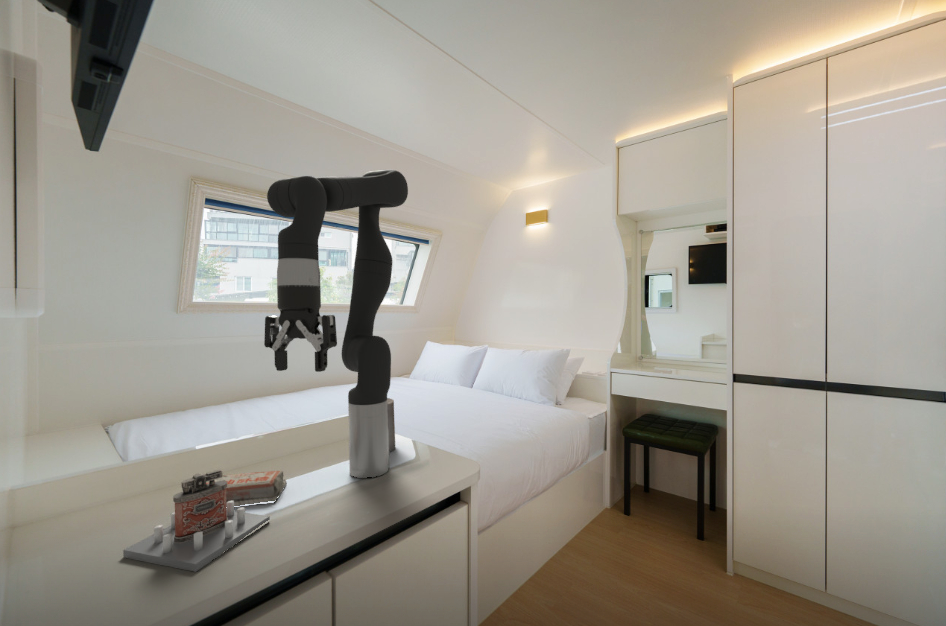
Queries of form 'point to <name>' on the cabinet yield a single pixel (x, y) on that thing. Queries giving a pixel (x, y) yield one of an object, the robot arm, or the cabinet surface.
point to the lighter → (200, 506)
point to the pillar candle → (391, 423)
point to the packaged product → (253, 487)
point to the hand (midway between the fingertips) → (300, 370)
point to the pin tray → (194, 542)
